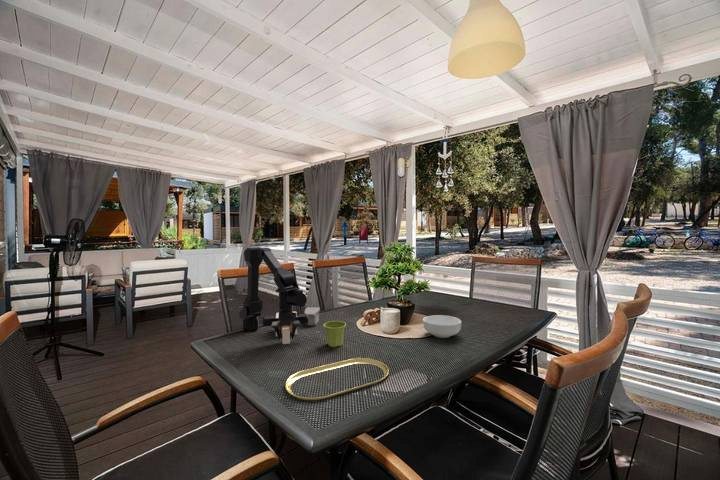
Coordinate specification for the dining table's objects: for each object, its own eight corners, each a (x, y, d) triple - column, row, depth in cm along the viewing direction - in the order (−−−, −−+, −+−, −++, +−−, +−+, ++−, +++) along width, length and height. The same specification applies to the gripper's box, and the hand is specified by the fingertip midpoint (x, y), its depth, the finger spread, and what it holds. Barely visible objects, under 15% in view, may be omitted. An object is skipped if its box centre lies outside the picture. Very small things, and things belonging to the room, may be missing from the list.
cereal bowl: (457, 329, 151) (457, 314, 151) (465, 342, 135) (465, 325, 135) (421, 328, 153) (421, 314, 153) (424, 340, 137) (424, 324, 136)
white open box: (275, 336, 143) (275, 318, 143) (276, 329, 153) (276, 312, 152) (297, 334, 145) (296, 317, 145) (296, 327, 155) (296, 311, 154)
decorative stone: (317, 318, 172) (299, 319, 169) (318, 305, 172) (299, 306, 168) (324, 326, 158) (304, 328, 155) (325, 312, 158) (305, 314, 155)
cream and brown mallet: (280, 344, 133) (279, 330, 133) (281, 330, 151) (281, 317, 151) (292, 343, 134) (292, 329, 134) (292, 329, 152) (291, 317, 152)
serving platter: (277, 381, 102) (277, 376, 102) (369, 358, 120) (369, 354, 120) (297, 410, 86) (296, 404, 86) (400, 378, 104) (400, 374, 103)
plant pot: (343, 349, 127) (342, 328, 127) (320, 348, 129) (320, 327, 129) (348, 341, 136) (348, 321, 136) (327, 339, 138) (327, 320, 138)
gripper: (261, 309, 125) (261, 348, 125) (309, 306, 129) (309, 344, 129) (263, 303, 135) (263, 338, 136) (307, 300, 139) (307, 335, 140)
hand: (286, 339), depth 135 cm, fingers open, 5 cm apart
